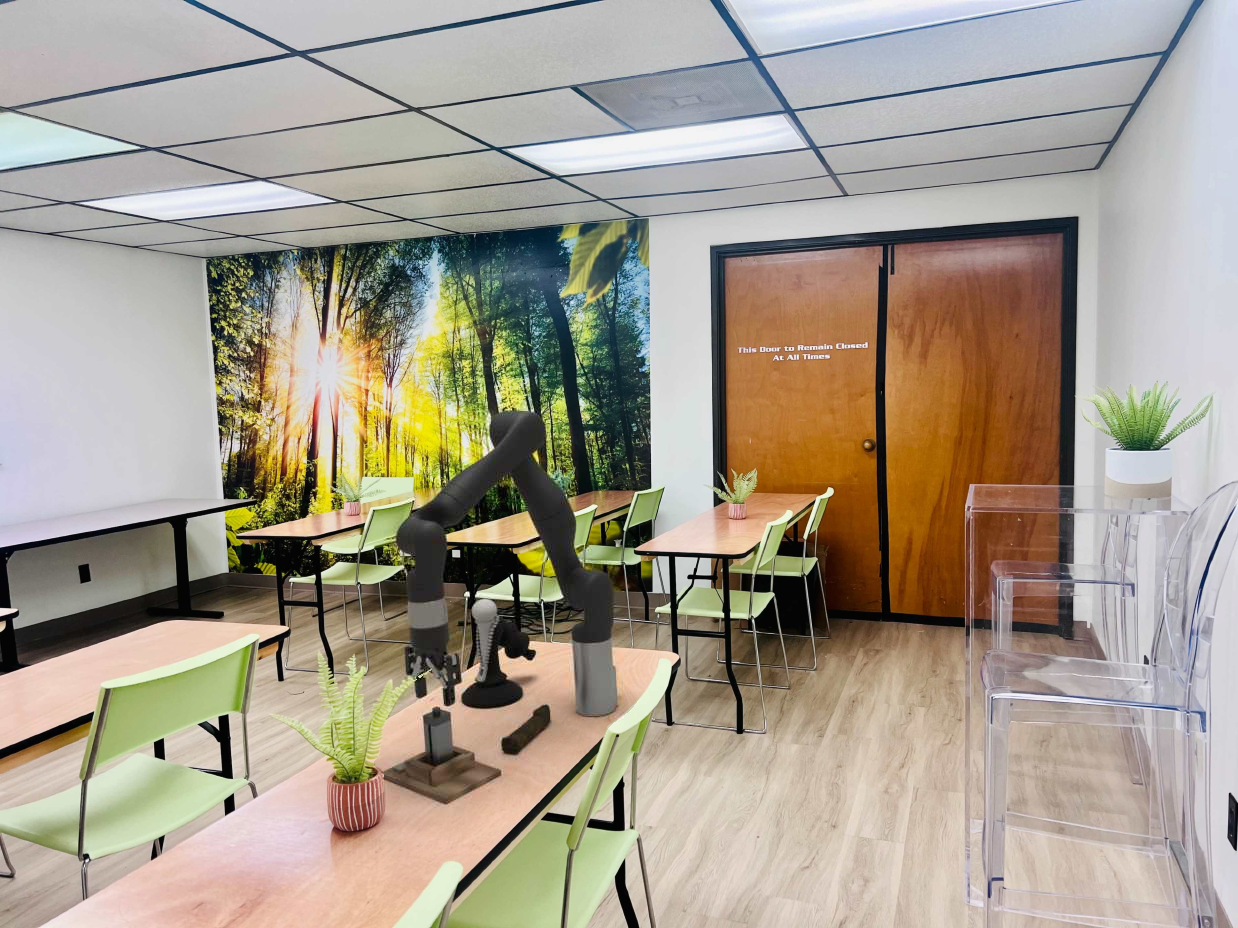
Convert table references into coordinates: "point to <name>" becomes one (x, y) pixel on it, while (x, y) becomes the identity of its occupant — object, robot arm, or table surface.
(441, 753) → the grey square peg
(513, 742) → the dark wooden branch
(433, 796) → the stand
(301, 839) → the table surface
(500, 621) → the sculpture
